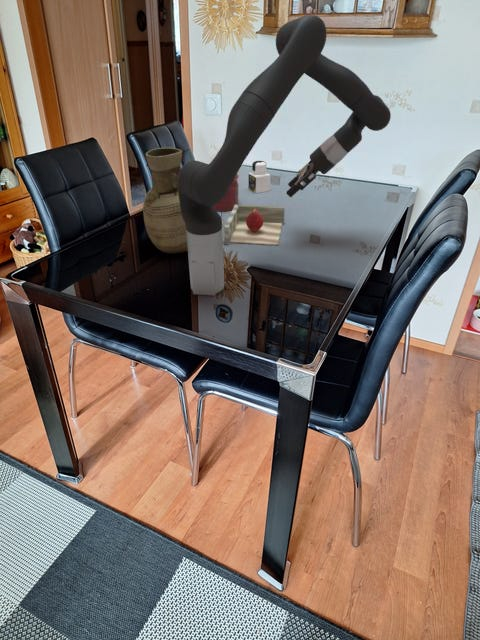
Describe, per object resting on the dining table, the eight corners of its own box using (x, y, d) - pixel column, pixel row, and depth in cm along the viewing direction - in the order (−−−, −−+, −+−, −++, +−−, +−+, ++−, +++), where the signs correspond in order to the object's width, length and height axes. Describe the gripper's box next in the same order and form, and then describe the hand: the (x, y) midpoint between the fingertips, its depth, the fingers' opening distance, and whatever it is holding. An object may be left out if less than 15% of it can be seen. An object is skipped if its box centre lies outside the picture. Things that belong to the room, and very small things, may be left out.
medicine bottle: (248, 188, 190) (248, 160, 184) (262, 186, 193) (263, 158, 186) (255, 193, 185) (255, 164, 178) (270, 191, 187) (270, 162, 181)
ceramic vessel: (199, 229, 153) (193, 140, 136) (211, 254, 136) (206, 156, 119) (145, 235, 149) (132, 144, 132) (150, 262, 132) (136, 161, 115)
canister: (243, 209, 170) (243, 162, 160) (212, 213, 166) (210, 166, 156) (232, 199, 180) (231, 154, 170) (202, 203, 176) (199, 158, 166)
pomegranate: (261, 236, 146) (261, 213, 142) (244, 234, 147) (244, 212, 143) (264, 229, 151) (264, 207, 146) (247, 228, 152) (247, 206, 147)
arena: (279, 247, 140) (279, 229, 137) (224, 244, 143) (224, 226, 139) (283, 222, 157) (284, 206, 154) (235, 220, 160) (234, 204, 156)
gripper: (320, 139, 136) (282, 175, 144) (320, 150, 124) (279, 189, 132) (336, 157, 138) (297, 192, 146) (337, 170, 126) (295, 206, 134)
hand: (289, 190), depth 139 cm, fingers open, 8 cm apart
